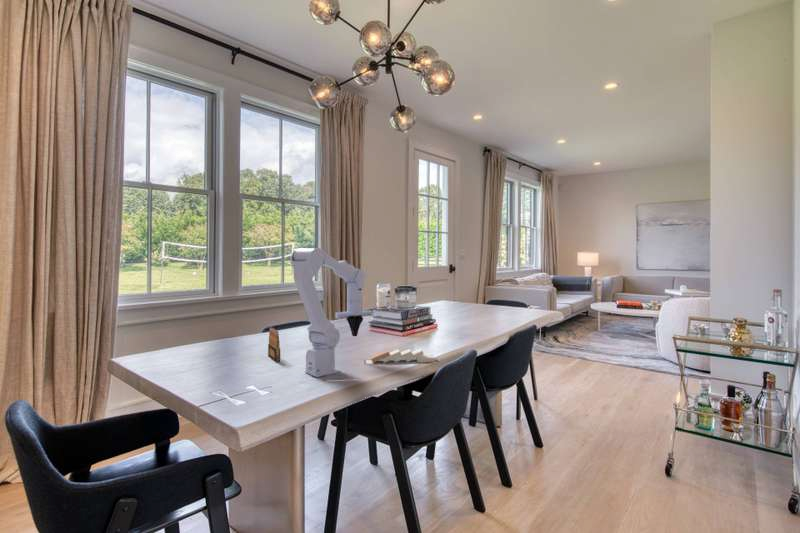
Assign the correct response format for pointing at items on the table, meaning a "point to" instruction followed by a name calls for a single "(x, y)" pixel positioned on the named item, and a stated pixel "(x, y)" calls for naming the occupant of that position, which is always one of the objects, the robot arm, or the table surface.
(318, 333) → the robot arm
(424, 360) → the domino
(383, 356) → the domino placed
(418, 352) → the domino
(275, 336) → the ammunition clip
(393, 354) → the domino
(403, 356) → the domino
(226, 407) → the table surface
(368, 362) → the mat
